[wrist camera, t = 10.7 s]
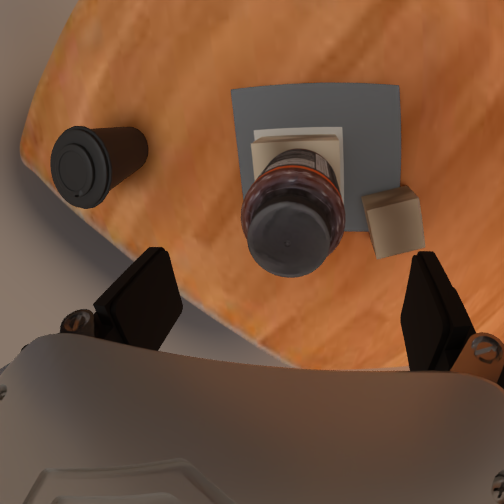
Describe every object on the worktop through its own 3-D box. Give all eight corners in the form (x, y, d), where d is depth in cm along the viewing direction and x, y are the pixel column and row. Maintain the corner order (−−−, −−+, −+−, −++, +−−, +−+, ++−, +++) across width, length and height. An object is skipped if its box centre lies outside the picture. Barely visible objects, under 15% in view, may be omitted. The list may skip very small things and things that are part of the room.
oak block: (407, 185, 27) (418, 197, 23) (414, 230, 29) (425, 247, 25) (360, 196, 28) (366, 210, 25) (371, 240, 30) (376, 259, 27)
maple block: (335, 134, 26) (339, 140, 22) (336, 204, 29) (340, 223, 25) (261, 136, 28) (250, 143, 23) (267, 204, 31) (258, 223, 26)
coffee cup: (127, 194, 34) (74, 228, 26) (92, 144, 32) (34, 166, 23) (172, 155, 31) (119, 180, 22) (132, 100, 28) (71, 109, 20)
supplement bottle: (330, 222, 25) (335, 305, 15) (260, 210, 26) (223, 285, 16) (342, 153, 22) (363, 195, 12) (267, 141, 23) (228, 174, 13)
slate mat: (397, 85, 23) (399, 85, 22) (395, 229, 30) (396, 232, 29) (232, 90, 26) (230, 89, 26) (248, 229, 33) (247, 232, 33)
